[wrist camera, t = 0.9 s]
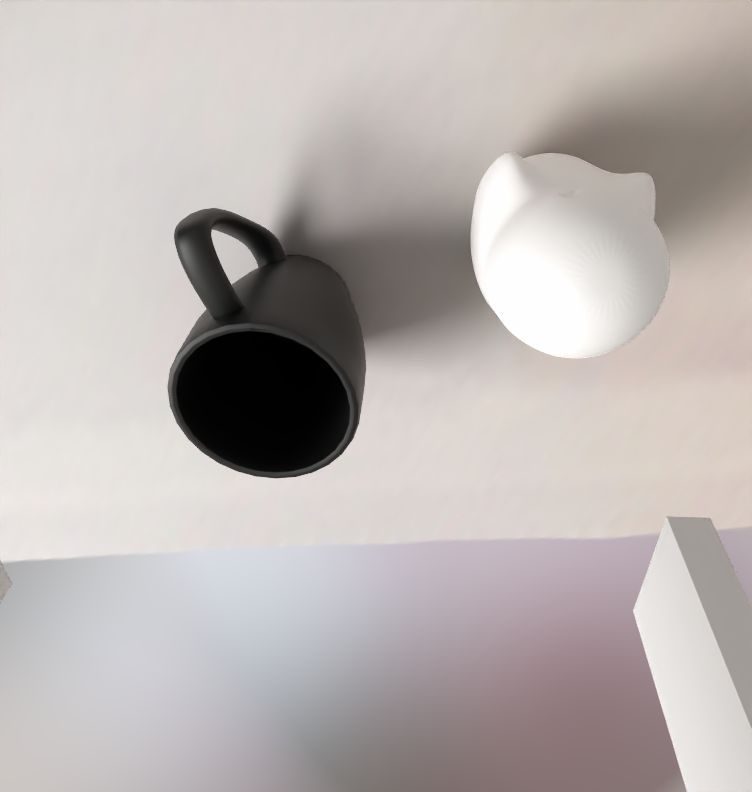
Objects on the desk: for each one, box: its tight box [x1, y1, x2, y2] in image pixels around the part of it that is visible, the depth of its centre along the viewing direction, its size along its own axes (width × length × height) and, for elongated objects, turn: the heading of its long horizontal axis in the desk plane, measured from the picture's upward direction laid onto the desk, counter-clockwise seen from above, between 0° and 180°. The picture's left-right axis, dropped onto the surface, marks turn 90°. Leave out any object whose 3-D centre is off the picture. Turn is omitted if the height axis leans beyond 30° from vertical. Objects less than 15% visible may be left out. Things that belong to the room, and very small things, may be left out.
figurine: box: [471, 152, 670, 358], centre depth 27 cm, size 7×8×12 cm
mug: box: [168, 208, 366, 478], centre depth 31 cm, size 8×12×10 cm
